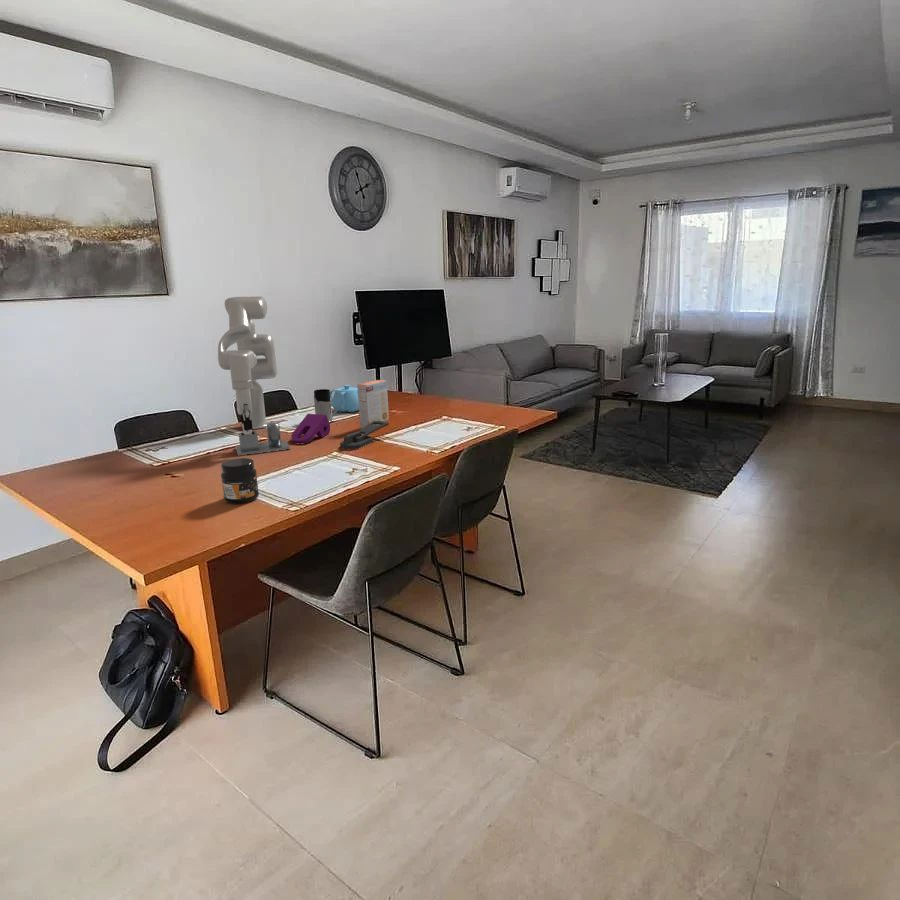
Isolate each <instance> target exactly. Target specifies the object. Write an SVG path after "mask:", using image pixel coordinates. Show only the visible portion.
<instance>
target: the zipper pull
mask: <svg viewBox="0 0 900 900" xmlns="http://www.w3.org/2000/svg"><path fill="white" fill-rule="evenodd" d="M373 424H378V425H373ZM379 425H380V426H379ZM388 425H389V424H388V422H384V421H373V422H371V423H370V424H368V425H367V426H365V427H364V428H362V429H361V428H360V429H359V430H358V431H355V432H351V433H349V434H347V435H345V436H343V440H341V442H339V446H340V447H341V448H340V449H342V448H343V450H346V449H356V450H359V448H360V449H362V448H364V447H366V446H368V444H369V445H370V443H371V444H372V442H373V437H372V436H370V435H372V434H373V433H374V432H377V431H378V430H380V429H382V428H384V427H386V426H388ZM365 445H366V446H365ZM363 446H364V447H363ZM361 447H362V448H361Z"/></svg>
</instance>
